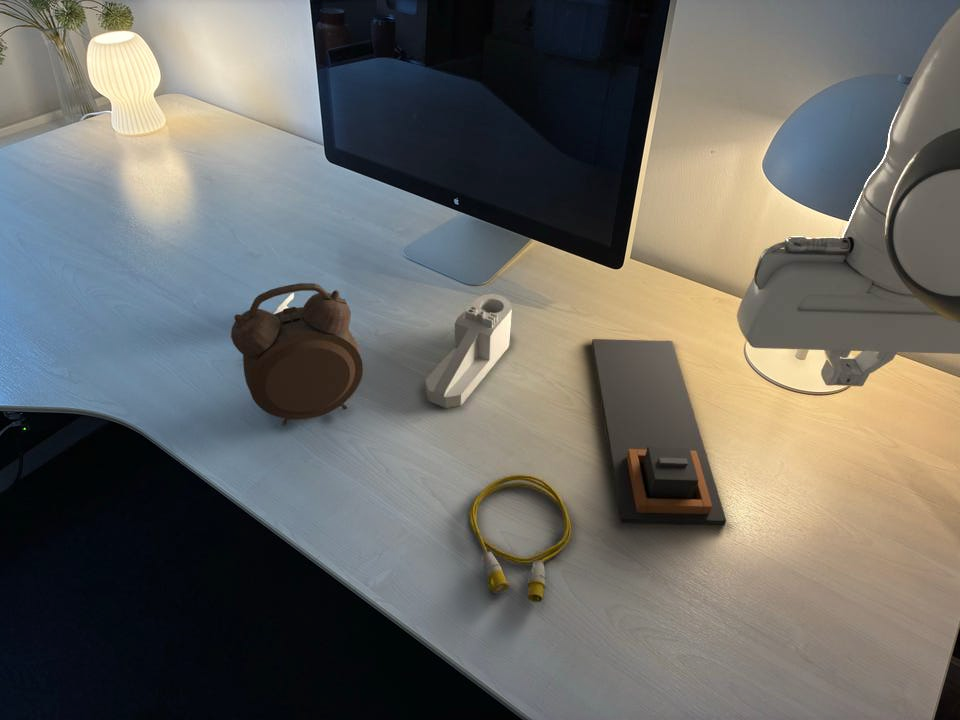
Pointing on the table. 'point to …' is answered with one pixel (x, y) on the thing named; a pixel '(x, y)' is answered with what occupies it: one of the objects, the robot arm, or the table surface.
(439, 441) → the table surface
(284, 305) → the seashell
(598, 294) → the table surface
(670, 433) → the base pad
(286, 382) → the alarm clock
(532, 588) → the extension cord
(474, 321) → the angled bracket with hole
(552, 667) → the table surface
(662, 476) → the black block
